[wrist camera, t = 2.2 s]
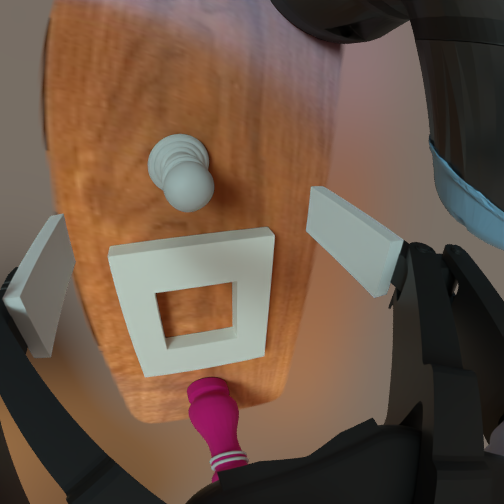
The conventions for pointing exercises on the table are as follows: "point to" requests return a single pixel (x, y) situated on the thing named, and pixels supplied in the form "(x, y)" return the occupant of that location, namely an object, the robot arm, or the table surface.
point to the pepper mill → (216, 422)
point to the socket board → (189, 276)
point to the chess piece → (182, 172)
